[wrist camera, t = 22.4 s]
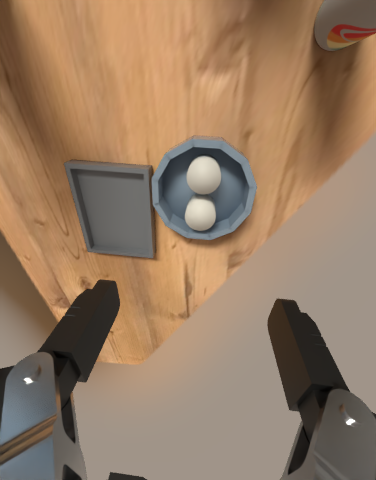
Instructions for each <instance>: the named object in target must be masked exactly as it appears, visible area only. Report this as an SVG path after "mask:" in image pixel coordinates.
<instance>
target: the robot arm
mask: <svg viewBox="0 0 376 480" xmlns="http://www.w3.org/2000/svg"><path fill="white" fill-rule="evenodd" d="M119 307H120V299H119V294H118V289H117V284H116V282H115V281H110V280H98V281H97V283H96V284H95V286H94V287H93V289H87V290H85V291H84V292H83V293H81V294H80V295H79V296H78V297H77V298H76V299H75V301H74V302H73V303H72V305H71V307H70V308H69V309H68V310H67V312H66V313H65V316H63V317H62V319H61V320H60V322H59V323H58V324H57V326H56V327H55V329H54V330H53V331H52V333H51V334H50V336H49V337H48V338H47V340H46V341H45V343H44V344H43V345H42V347H41V348H40V350H38V352H36V353H34V354H31V355H29V356H27V357H25V358H23V359H22V360H21V361H19V362H18V363H17V364H16V365H15V366H11V367H6V368H2V369H0V480H87V474H86V467H85V462H84V458H83V455H82V451H81V448H80V444H79V437H78V429H77V422H76V414H75V406H74V400H73V392H72V391H73V389H74V387H75V385H76V383H77V381H78V382H87V380H88V377H89V375H90V373H91V371H92V369H93V366H94V364H95V362H96V360H97V358H98V355H99V353H100V351H101V349H102V347H103V344H104V342H105V340H106V338H107V336H108V333H109V331H110V329H111V327H112V325H113V323H114V320H115V318H116V316H117V314H118V311H119ZM268 331H269V335H270V339H271V343H272V346H273V351H274V354H275V358H276V362H277V366H278V369H279V373H280V377H281V381H282V385H283V388H284V392H285V396H286V400H287V403H288V407H289V410H292V411H299V412H300V415H301V419H302V421H301V423H300V425H299V428H298V431H297V434H296V437H295V440H294V443H293V446H292V449H291V452H290V455H289V458H288V461H287V464H286V467H285V470H284V472H283V475H282V477H281V479H280V480H376V414H375V413H373V412H371V410H370V409H369V408H368V407H367V405H366V404H365V403H364V402H363V401H362V400H361V399H360V398H358V397H357V396H355V395H354V394H353V393H351V392H350V391H349V389H348V387H347V386H346V384H345V382H344V380H343V378H342V376H341V374H340V372H339V369H338V368H337V365H336V363H335V361H334V359H333V357H332V355H331V353H330V351H329V350H328V347H326V343H325V342H324V339H323V337H321V333H320V331H319V329H318V327H317V325H316V323H315V322H314V321H313V320H312V319H311V318H310V317H309V316H308V314H307V313H301V312H300V310H299V307H298V305H297V303H296V302H295V301H294V300H287V299H277V300H276V301H275V303H274V306H273V308H272V310H271V313H270V315H269V318H268ZM108 480H147V479H145V478H143V477H139V476H132V475H126V474H119V473H112V472H110V475H109V479H108Z"/></svg>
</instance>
